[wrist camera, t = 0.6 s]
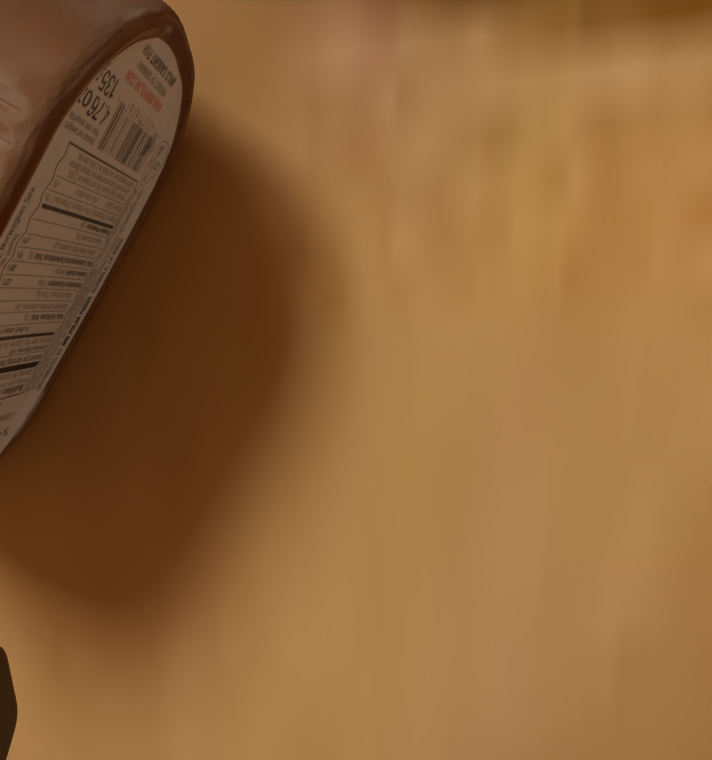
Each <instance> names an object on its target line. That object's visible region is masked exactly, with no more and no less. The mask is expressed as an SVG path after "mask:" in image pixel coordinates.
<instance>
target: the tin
mask: <svg viewBox="0 0 712 760" xmlns="http://www.w3.org/2000/svg"><path fill="white" fill-rule="evenodd" d="M194 78H195V74H194V63H193V58H192V53H191V50H190V47H189V44H188V40H187V36H186V33H185V30H184V27H183V25H182V23H181V21H180V19H179V17H178V16H177V15H176V13H175V12H174V11H173V10H172V9H171V7H169V6H168V5H167V4H166V3H165V2H163V1H162V0H0V459H1V458H2V457H3V456H4V455H5V453H6V452H7V451H8V450H9V448H10V447H11V446H12V444H13V443H14V442H15V440H16V439H17V438H18V436H19V435H20V434H21V432H22V431H23V429H24V428H25V427H26V425H27V424H28V422H29V421H30V419H31V418H32V416H33V415H34V413H35V411H36V410H37V408H38V406H39V405H40V403H41V402H42V400H43V398H44V396H45V395H46V393H47V391H48V389H49V388H50V386H51V384H52V382H53V381H54V379H55V377H56V375H57V374H58V372H59V370H60V368H61V367H62V365H63V363H64V362H65V360H66V358H67V356H68V355H69V353H70V351H71V349H72V348H73V346H74V344H75V342H76V341H77V339H78V337H79V335H80V334H81V332H82V330H83V328H84V327H85V325H86V323H87V322H88V320H89V318H90V316H91V315H92V313H93V311H94V309H95V307H96V306H97V304H98V302H99V300H100V298H101V297H102V295H103V293H104V291H105V289H106V288H107V286H108V284H109V282H110V281H111V279H112V277H113V275H114V273H115V272H116V270H117V268H118V266H119V264H120V263H121V261H122V259H123V257H124V256H125V254H126V252H127V250H128V248H129V247H130V245H131V243H132V241H133V239H134V238H135V236H136V234H137V232H138V230H139V228H140V227H141V225H142V223H143V221H144V219H145V217H146V216H147V214H148V212H149V210H150V208H151V207H152V205H153V203H154V201H155V199H156V197H157V195H158V193H159V191H160V189H161V187H162V185H163V183H164V181H165V179H166V177H167V175H168V172H169V170H170V168H171V166H172V164H173V161H174V159H175V156H176V154H177V151H178V148H179V146H180V143H181V140H182V137H183V134H184V131H185V128H186V124H187V120H188V116H189V112H190V108H191V103H192V96H193V88H194Z"/></svg>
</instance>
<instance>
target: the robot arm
mask: <svg viewBox="0 0 712 760" xmlns="http://www.w3.org/2000/svg"><path fill="white" fill-rule="evenodd" d="M16 721H17V701H16V696H15V692H14V687H13V682H12V677H11V673H10V668H9V663H8V659H7V655H6V653H5V651H4V649H3V648H2V647H0V760H6V758H7V755H8V752H9V748H10V745H11V741H12V738H13V734H14V731H15V727H16Z"/></svg>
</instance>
